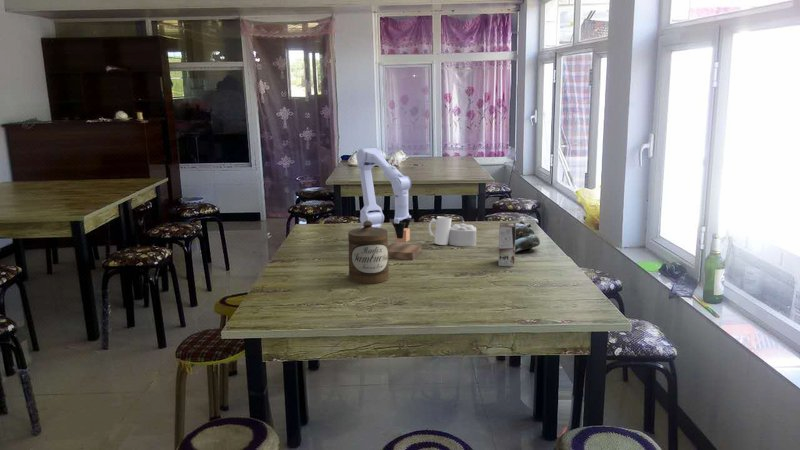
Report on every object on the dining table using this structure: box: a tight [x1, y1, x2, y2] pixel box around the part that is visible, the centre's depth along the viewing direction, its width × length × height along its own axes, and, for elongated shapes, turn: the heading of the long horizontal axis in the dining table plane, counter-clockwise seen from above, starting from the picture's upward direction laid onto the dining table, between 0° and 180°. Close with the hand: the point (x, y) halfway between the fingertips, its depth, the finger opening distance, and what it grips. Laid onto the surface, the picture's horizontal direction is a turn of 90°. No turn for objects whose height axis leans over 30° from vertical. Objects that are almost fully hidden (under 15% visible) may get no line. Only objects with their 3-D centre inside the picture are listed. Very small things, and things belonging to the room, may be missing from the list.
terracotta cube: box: [394, 227, 411, 243], centre depth 273 cm, size 5×5×5 cm
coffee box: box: [498, 222, 517, 267], centre depth 259 cm, size 9×6×16 cm
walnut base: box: [388, 242, 423, 261], centre depth 275 cm, size 14×14×3 cm
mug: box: [428, 215, 453, 246], centre depth 292 cm, size 10×7×12 cm, turn 77°
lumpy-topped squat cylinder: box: [448, 222, 477, 247], centre depth 293 cm, size 10×13×9 cm
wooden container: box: [347, 221, 390, 285], centre depth 239 cm, size 15×15×22 cm
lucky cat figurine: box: [515, 221, 541, 254], centre depth 281 cm, size 15×12×14 cm
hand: (401, 236), depth 273 cm, fingers closed on terracotta cube, 5 cm apart
